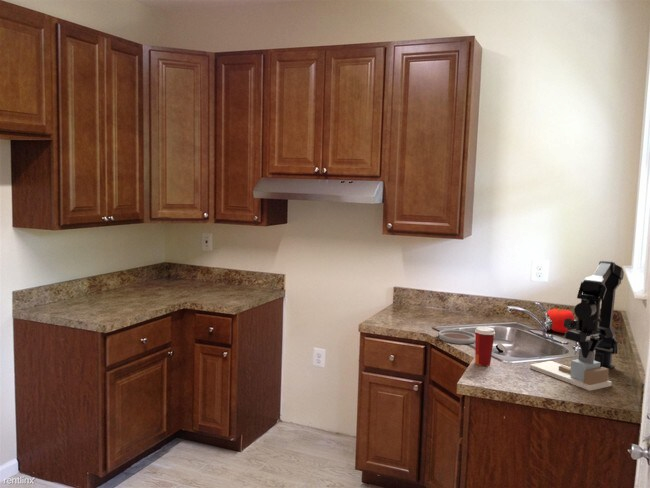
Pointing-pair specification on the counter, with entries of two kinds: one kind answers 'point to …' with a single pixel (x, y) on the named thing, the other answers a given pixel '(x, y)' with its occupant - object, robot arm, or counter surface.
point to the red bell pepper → (559, 319)
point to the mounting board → (591, 378)
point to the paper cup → (483, 345)
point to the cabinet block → (583, 365)
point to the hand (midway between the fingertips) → (586, 357)
